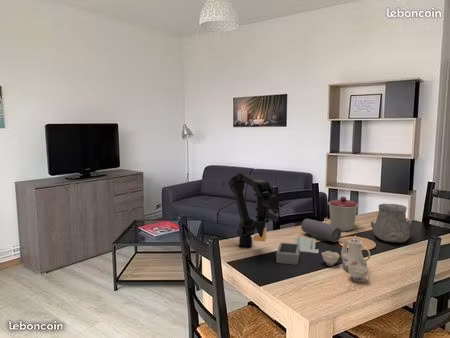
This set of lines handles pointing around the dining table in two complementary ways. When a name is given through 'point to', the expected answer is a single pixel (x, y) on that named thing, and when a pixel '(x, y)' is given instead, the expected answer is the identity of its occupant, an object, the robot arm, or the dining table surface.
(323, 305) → the dining table surface
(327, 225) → the bluetooth speaker
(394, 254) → the dining table surface
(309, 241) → the metal bracket
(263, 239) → the wood grain brick
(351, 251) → the chinaware
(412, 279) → the dining table surface
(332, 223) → the canister
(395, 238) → the vessel
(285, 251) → the open box
